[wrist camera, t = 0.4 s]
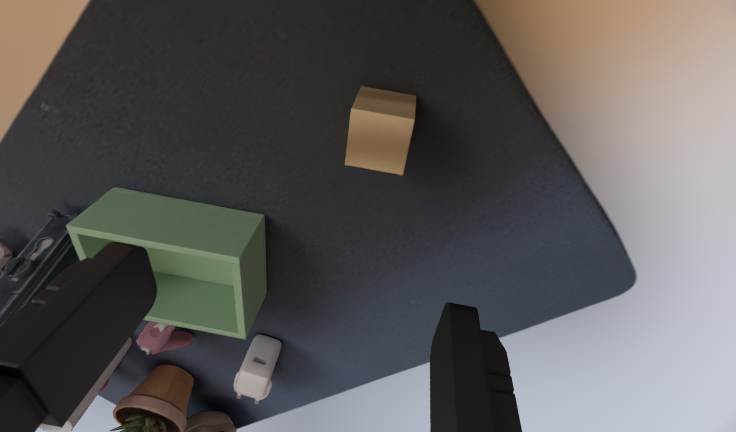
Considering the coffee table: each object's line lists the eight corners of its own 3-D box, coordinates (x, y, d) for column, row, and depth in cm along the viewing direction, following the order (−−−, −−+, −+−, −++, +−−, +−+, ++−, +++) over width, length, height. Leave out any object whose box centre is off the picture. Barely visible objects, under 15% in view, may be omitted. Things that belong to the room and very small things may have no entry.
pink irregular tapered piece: (198, 278, 48) (144, 304, 42) (221, 306, 47) (169, 337, 42) (174, 317, 53) (122, 345, 47) (194, 343, 53) (144, 375, 47)
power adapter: (272, 382, 57) (258, 422, 52) (240, 372, 57) (223, 412, 52) (288, 340, 51) (274, 381, 46) (252, 328, 50) (234, 369, 45)
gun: (24, 417, 41) (-96, 374, 29) (113, 280, 52) (50, 208, 40) (48, 422, 41) (-63, 380, 29) (133, 283, 52) (76, 212, 40)
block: (361, 85, 30) (351, 108, 26) (416, 95, 30) (415, 119, 26) (354, 137, 33) (344, 164, 29) (405, 146, 33) (402, 175, 29)
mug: (122, 320, 53) (53, 406, 43) (142, 350, 56) (82, 436, 47) (57, 316, 54) (-25, 398, 44) (80, 346, 58) (10, 428, 48)
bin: (114, 186, 39) (65, 225, 34) (264, 214, 39) (239, 258, 34) (138, 268, 46) (100, 311, 41) (267, 293, 46) (245, 339, 40)
